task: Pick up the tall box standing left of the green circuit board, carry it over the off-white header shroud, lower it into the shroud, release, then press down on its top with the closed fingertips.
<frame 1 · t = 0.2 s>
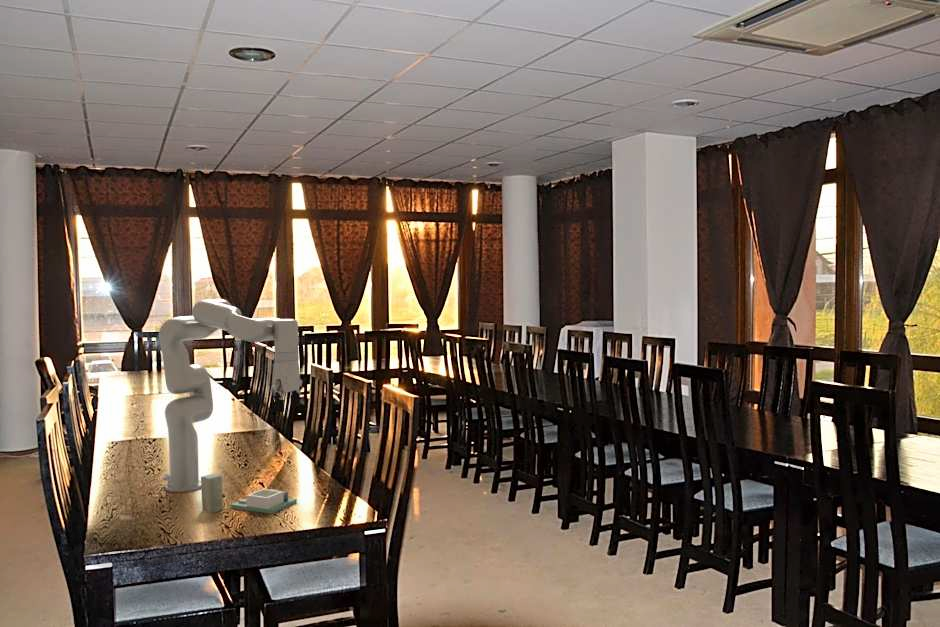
hand: (287, 409, 264), 31 cm above the table, fingers open, 9 cm apart
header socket: (265, 507, 260), resting on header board
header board: (264, 505, 262), on the table
box: (212, 510, 257), on the table
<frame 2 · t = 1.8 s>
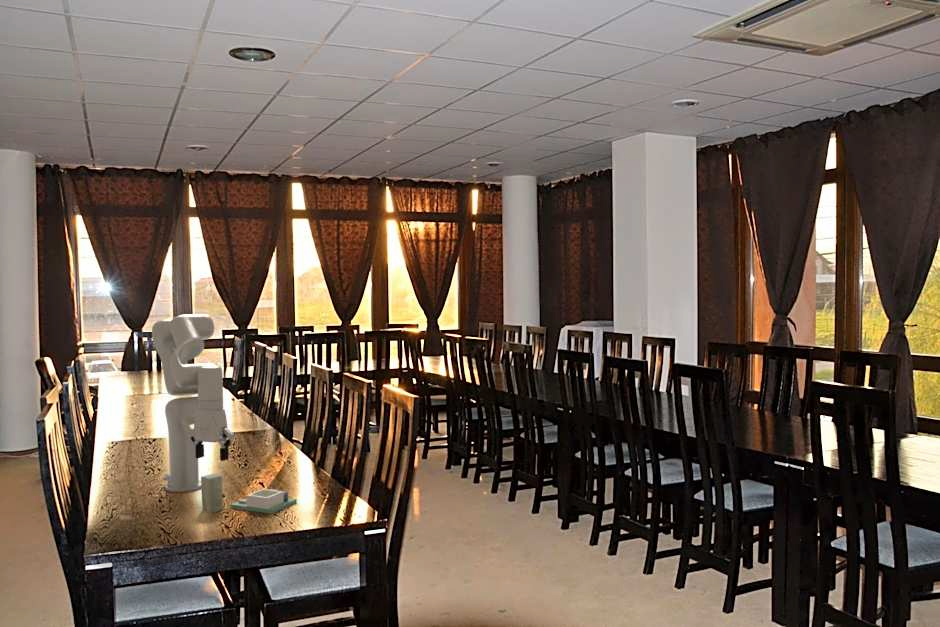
hand: (212, 458, 257), 16 cm above the table, fingers open, 9 cm apart
nothing on the table moved.
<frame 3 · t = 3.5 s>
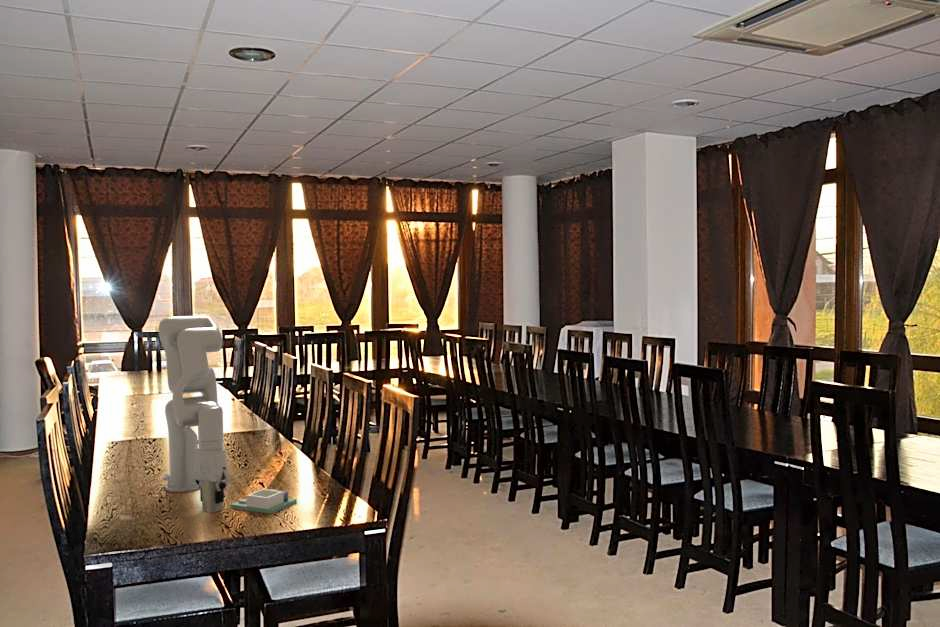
hand: (212, 500, 257), 3 cm above the table, fingers closed on box, 5 cm apart
box: (212, 510, 257), on the table, touching gripper
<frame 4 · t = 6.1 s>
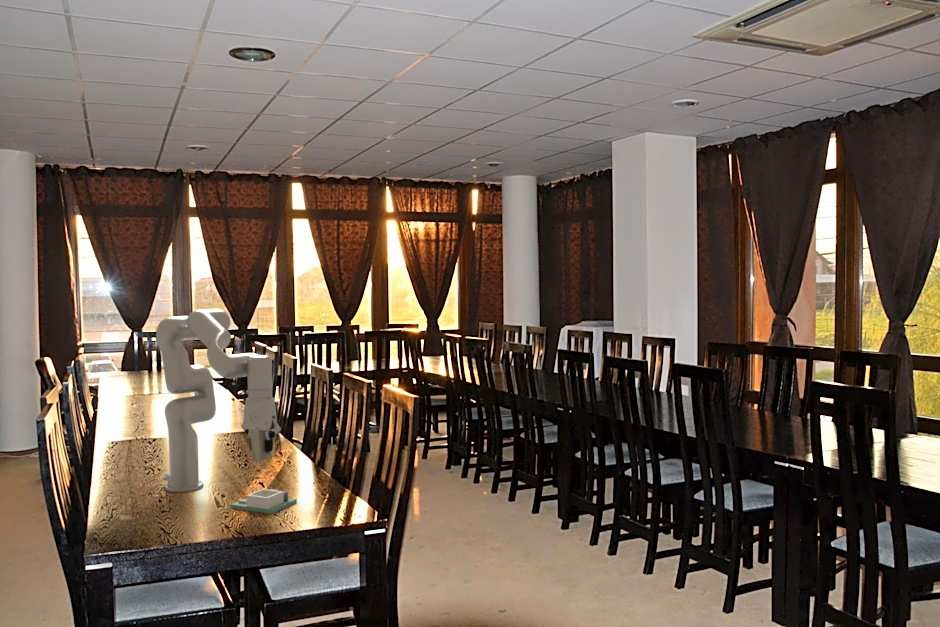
hand: (261, 450, 258), 19 cm above the table, fingers closed on box, 5 cm apart
box: (261, 460, 258), point 16 cm above the table, touching gripper
when the fingers open (6 cm above the table, at t = 8.9 s): box drops 2 cm, resting on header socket.
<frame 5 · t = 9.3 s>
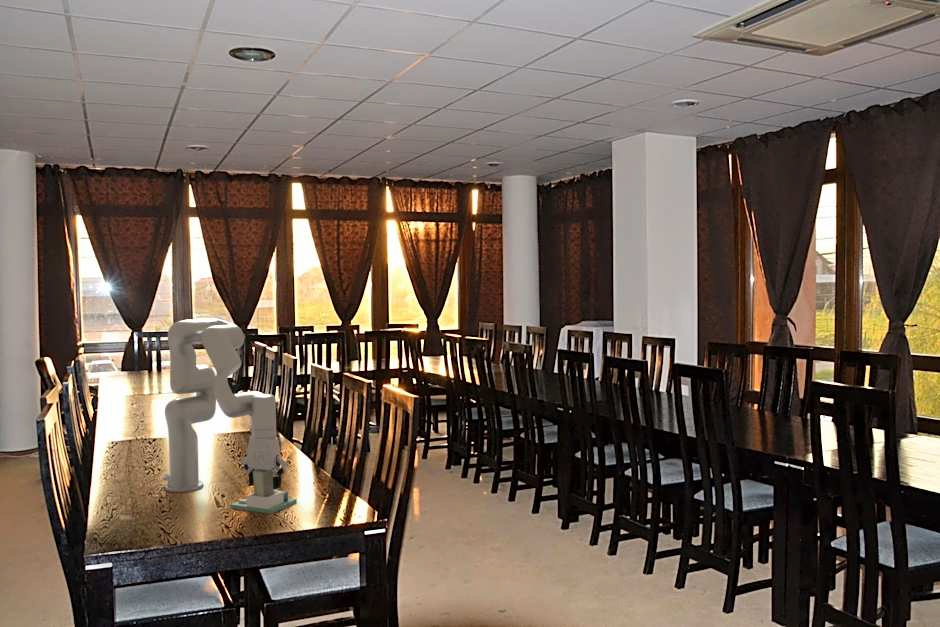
hand: (264, 486, 259), 7 cm above the table, fingers open, 9 cm apart
box: (264, 504, 260), point 1 cm above the table, touching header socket
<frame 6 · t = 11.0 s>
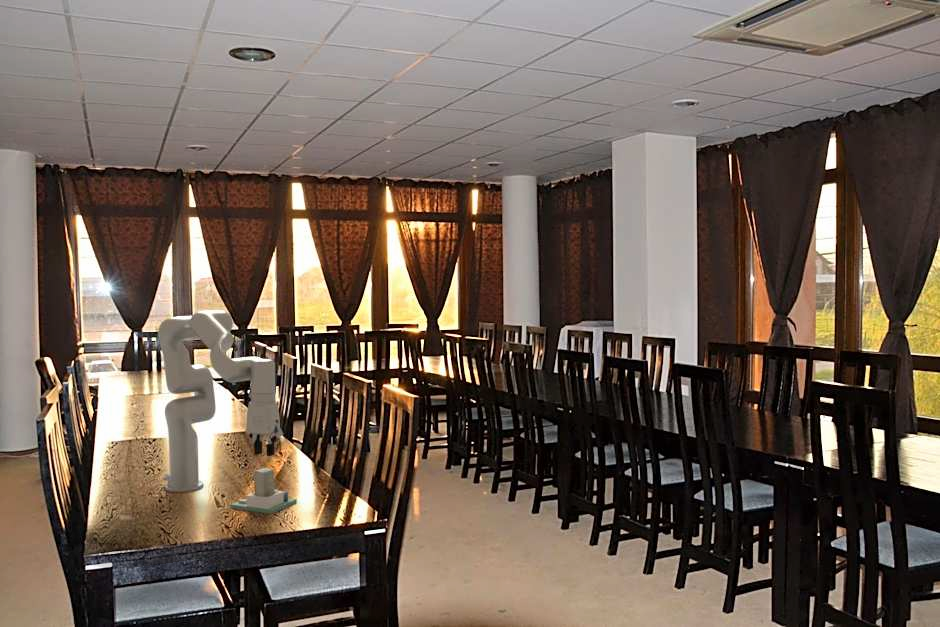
hand: (264, 454, 259), 17 cm above the table, fingers open, 4 cm apart
nothing on the table moved.
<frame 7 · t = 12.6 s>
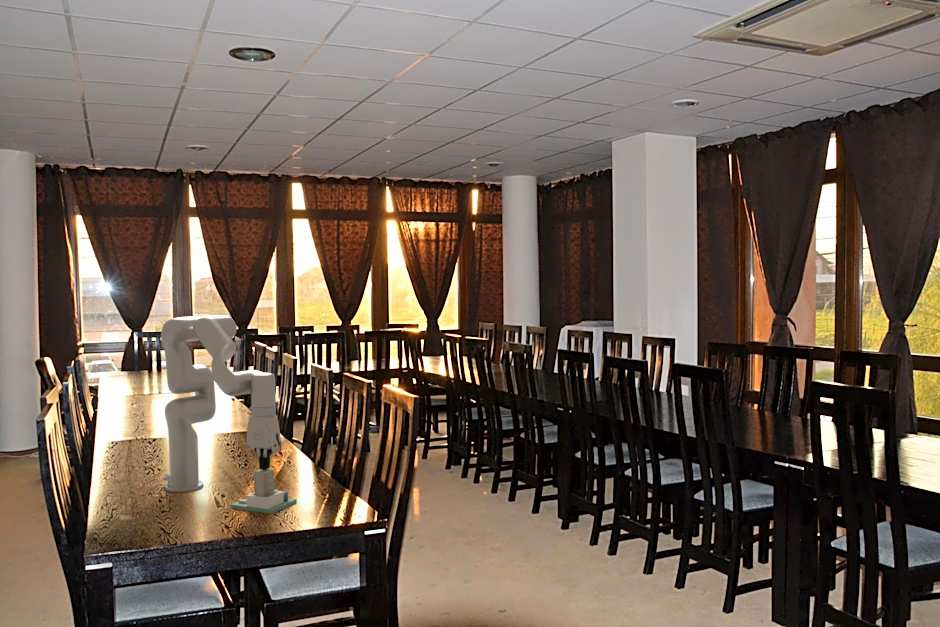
hand: (264, 468, 259), 13 cm above the table, fingers closed
nothing on the table moved.
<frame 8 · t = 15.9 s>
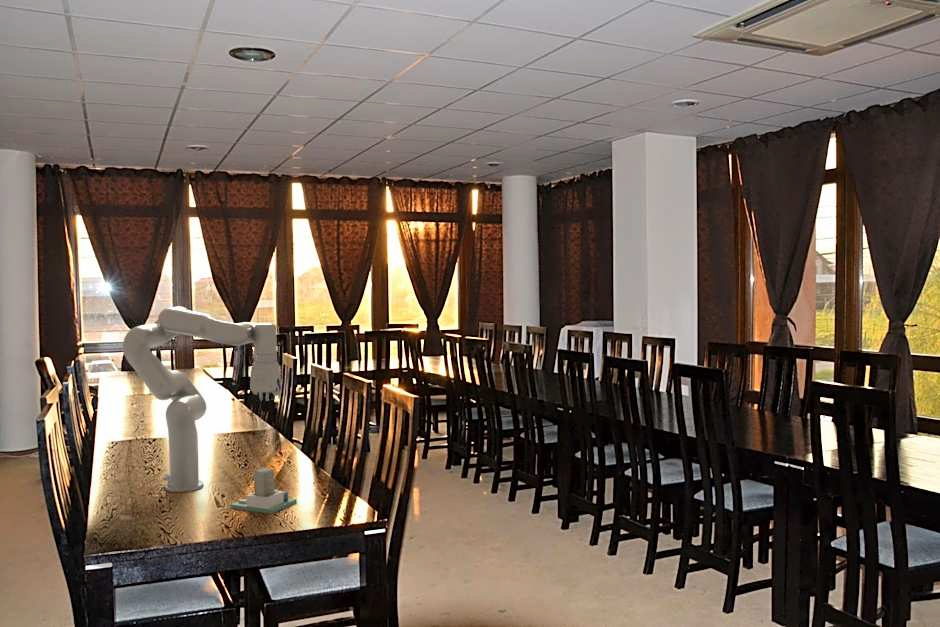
hand: (266, 411, 280), 27 cm above the table, fingers closed
nothing on the table moved.
at the end: box 0.1 cm off-centre on the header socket, point 1.1 cm above the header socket's base; box tilted 0°; the gripper is holding nothing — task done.
